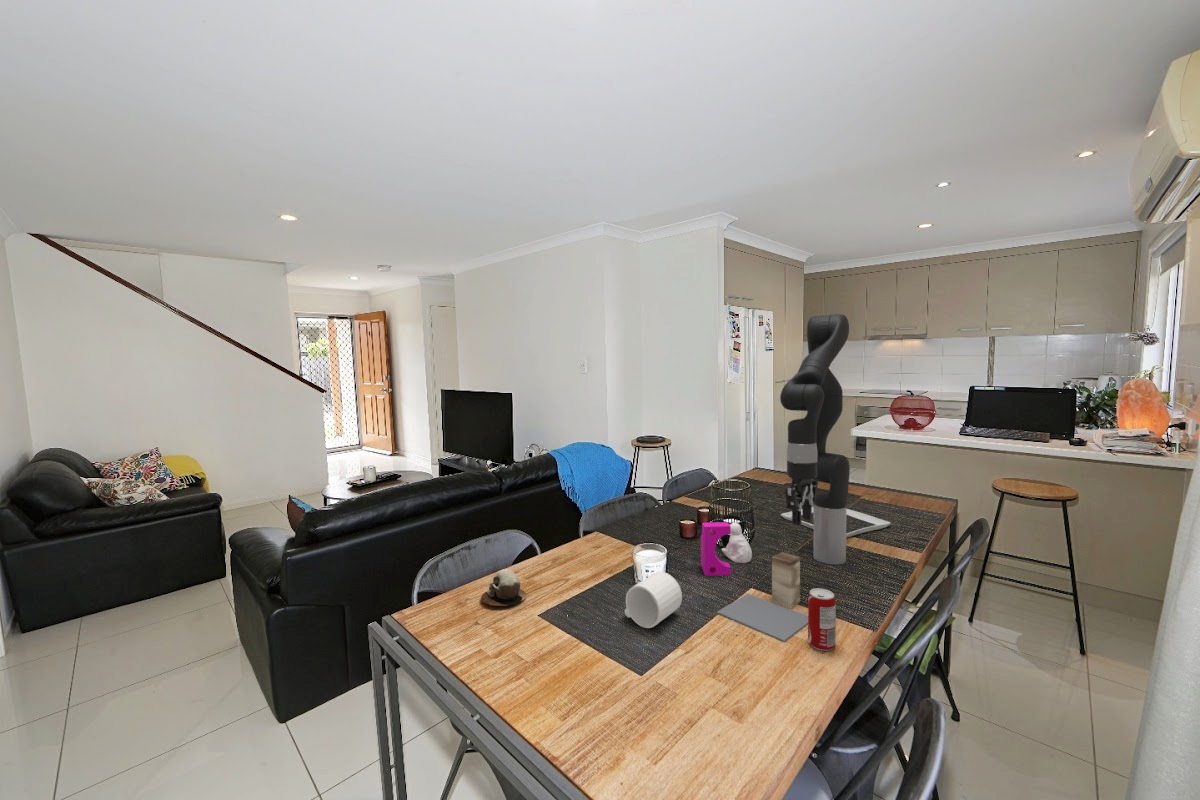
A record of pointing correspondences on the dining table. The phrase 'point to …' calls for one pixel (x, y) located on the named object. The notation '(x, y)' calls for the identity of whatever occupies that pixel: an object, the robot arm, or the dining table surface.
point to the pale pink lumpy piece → (737, 546)
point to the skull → (504, 589)
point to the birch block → (786, 580)
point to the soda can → (821, 619)
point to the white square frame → (861, 516)
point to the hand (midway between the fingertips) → (801, 521)
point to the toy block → (713, 548)
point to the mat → (765, 617)
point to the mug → (653, 599)
